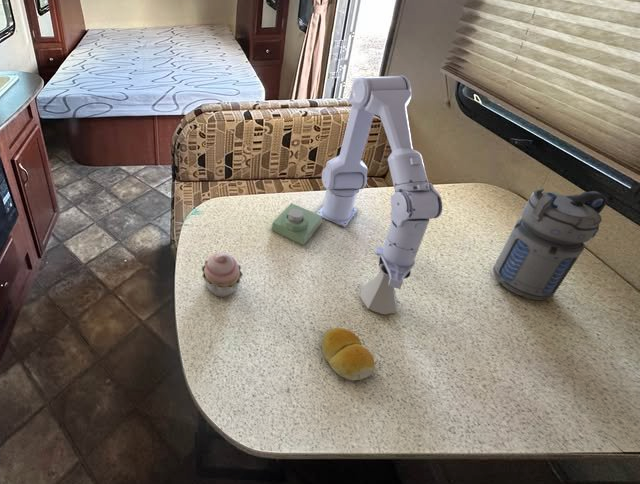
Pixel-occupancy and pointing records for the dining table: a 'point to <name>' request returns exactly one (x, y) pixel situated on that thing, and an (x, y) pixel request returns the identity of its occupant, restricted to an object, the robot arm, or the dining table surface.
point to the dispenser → (297, 225)
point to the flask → (379, 293)
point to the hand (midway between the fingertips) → (386, 286)
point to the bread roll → (347, 354)
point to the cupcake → (221, 274)
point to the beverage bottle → (547, 242)
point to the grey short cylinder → (295, 215)
